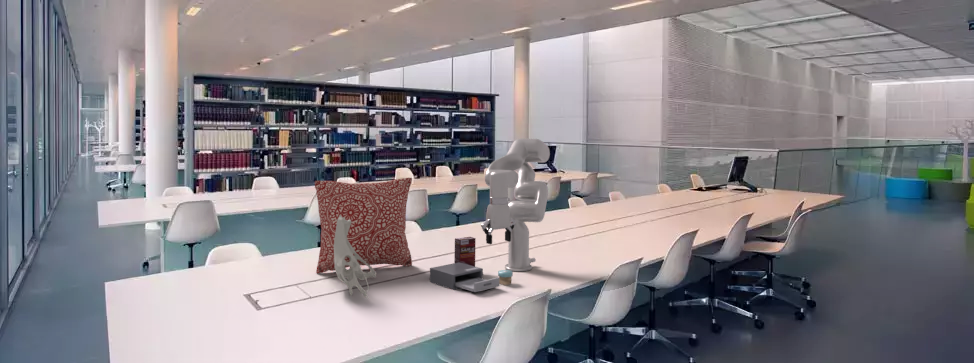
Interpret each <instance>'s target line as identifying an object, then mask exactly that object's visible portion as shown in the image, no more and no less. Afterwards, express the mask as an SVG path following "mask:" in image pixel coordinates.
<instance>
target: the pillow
mask: <svg viewBox="0 0 974 363" xmlns="http://www.w3.org/2000/svg"><path fill="white" fill-rule="evenodd" d="M412 181H413V178H412V177H404V178H396V179H392V180H389V181H383V182H382V181H381V182H371V183H369V182H368V183H366V182H365V183H364V182H363V183H360V182H359V183H356V182H355V183H351V182H350V183H348V182H341V181H334V180H318V179H317V180H314V188H315V191H316V198H317V203H318V205H317V206H318V216H319V221H320V228H321V231H320V247H319V248H320V250H319V255H318V262H317V266H316V269H315V270H316V272H315V274H316V273H317V274H322V273H326V272H328V271H332V272H333V271H335V267H334V266H335V263H334V238H335V232H336V225H337V219H338V218H339V215H341V216H342V218H343V217H345V219H346V220H351V222H352V223H351V225H350V228H349V231H348V235H347V239H348V241H349V243H350V244H351V246H352V247H353V249H354V250H355V252H356V253H357V254H358V255H359V256H360V257H361V258H362V259H363V260H364V261H365V262H366V263H367V264H369V265H370V266H374V265H375V266H377V265H392V266H403V267H411V266H413V260H412V254H411V250H410V248H409V244H408V240H407V235H406V228H407V226H406V225H407V224H406V223H407V222H406V221H407V220H406V217H407V215H406V214H407V204H408V203H407V202H408V199H409V198H408V197H409V192H410V189H411V185H412ZM352 254H353V253H352ZM353 255H354V254H353ZM345 261H346V262H349V261H350V259H349V258H348V257H345ZM357 262H358V263H359V265H360V266H366V264H364V263H363V262H361V261H360V260H359V259H357ZM350 267H351V266H349V265H345V268H346V269H347V268H350Z"/></svg>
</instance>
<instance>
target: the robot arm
mask: <svg viewBox="0 0 974 363" xmlns="http://www.w3.org/2000/svg"><path fill="white" fill-rule="evenodd" d="M550 152H551V151H550V147H549V146H548V145H547V144H546V143H545V142H544V141H543V140H541V139H538V138H516V139H515V140H514V141H513V142H512V143H511V146H510V147H509V149H508V151H507V153H506V154H505V155H504V156H503V155H502V156H501V157H499V158H497V159H495V160H494V161H492V162H491V163H490V164H489V166H488V168H487V169H486V171H485V174H484V183H485V184H486V186H488V187H489V204H488V205H487V209H486V214H485V221H483V222H482V223H481V224H480V227H481V229H482V232H484V234H485V241H486V244H487V245H492V244H493V234H492V233H493V231H496V230H502V229H503V230H505V232H504V241H505V242H508V246H507V247H508V251H507V252H508V256H507V257H508V258H507V259H508V260H507V264H505V265H504V270H510V271H512V272H526V271H527V272H529V271H531V270H532V269H533V266H532V264H531V263H535V262H536V258H535V257H532V258H531V257H530V230H529V228H528V225H527V224H526V223H527V222H528V223H541V222H543V220H544V219H545V214H546V208H547V202H548V198H549V187H548V184H546V182H545V181H541V180H536V172H535V170H534V168H533V167H532V166H531V165H530V164H529V163H546V162H547V161H549V159H550V157H551V156H550V155H551V153H550ZM516 170H517V171H516ZM512 188H514V190H513V197H514V198H515V199H516V200H511V199H510V198H509V189H512ZM510 200H511V201H510ZM509 201H510V202H509Z"/></svg>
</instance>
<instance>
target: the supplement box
mask: <svg viewBox="0 0 974 363" xmlns="http://www.w3.org/2000/svg"><path fill="white" fill-rule="evenodd" d="M458 262H460V263H464V264H467V265H471V266H475V267H476V237H473V236H466V237H465V236H463V237H456V238H454V262H453V263H458Z"/></svg>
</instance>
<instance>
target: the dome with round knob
mask: <svg viewBox="0 0 974 363" xmlns="http://www.w3.org/2000/svg"><path fill="white" fill-rule="evenodd" d="M497 272H498V273H497V276H498V277H511V278H512V277H513V272H514V271H510V270H507V269H501V270H498V271H497Z"/></svg>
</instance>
